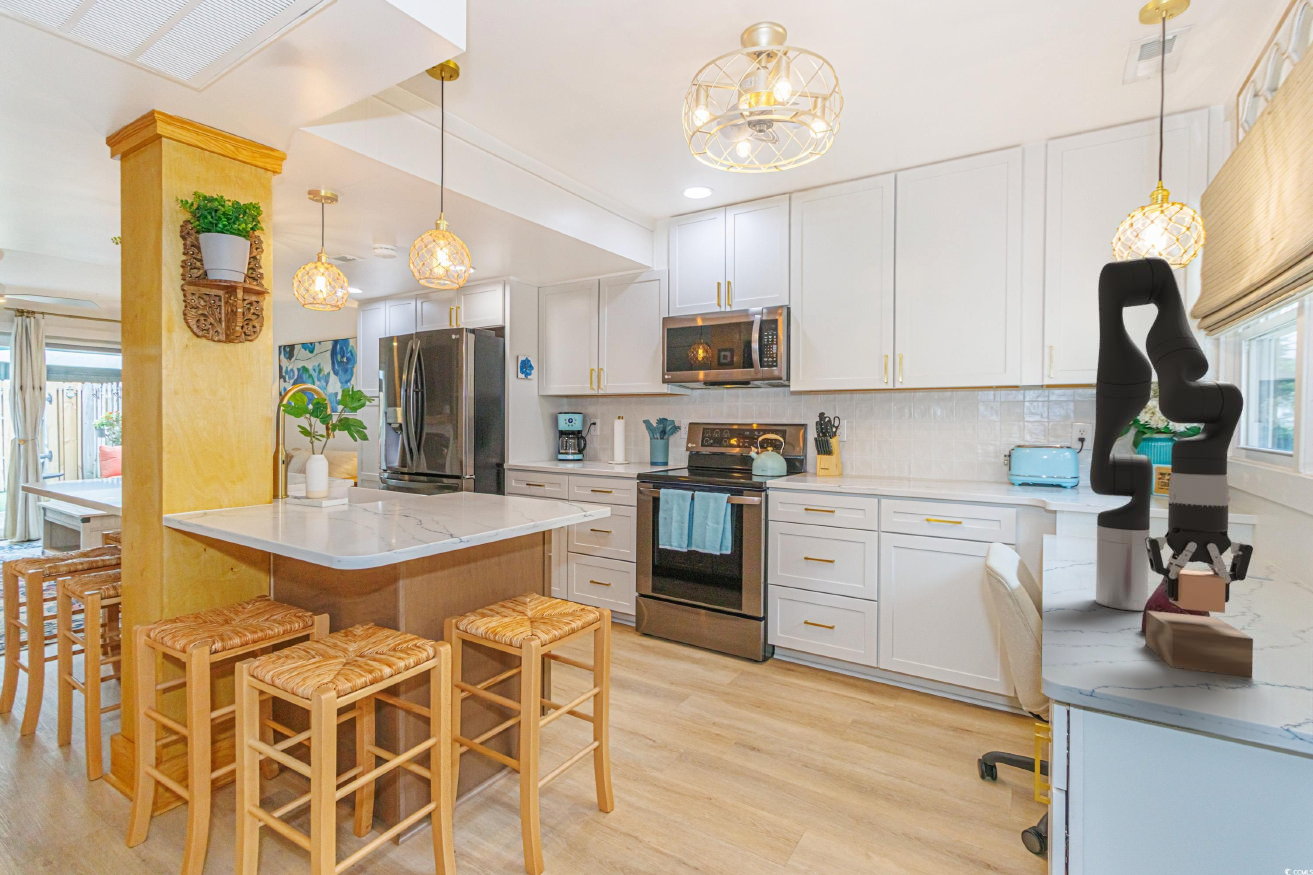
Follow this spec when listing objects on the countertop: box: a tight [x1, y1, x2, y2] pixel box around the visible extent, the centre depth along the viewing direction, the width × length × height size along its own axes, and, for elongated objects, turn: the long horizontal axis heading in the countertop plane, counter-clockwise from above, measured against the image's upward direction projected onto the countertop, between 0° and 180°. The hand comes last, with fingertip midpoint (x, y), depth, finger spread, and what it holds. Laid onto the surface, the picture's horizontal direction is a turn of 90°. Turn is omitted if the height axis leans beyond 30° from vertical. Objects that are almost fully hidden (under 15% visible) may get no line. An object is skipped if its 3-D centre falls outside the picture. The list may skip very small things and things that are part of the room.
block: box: [1169, 569, 1226, 614], centre depth 103 cm, size 6×6×6 cm
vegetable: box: [1141, 568, 1211, 634], centre depth 117 cm, size 10×10×15 cm
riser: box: [1145, 611, 1254, 678], centre depth 103 cm, size 12×10×6 cm
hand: (1195, 601), depth 103 cm, fingers closed on block, 5 cm apart
